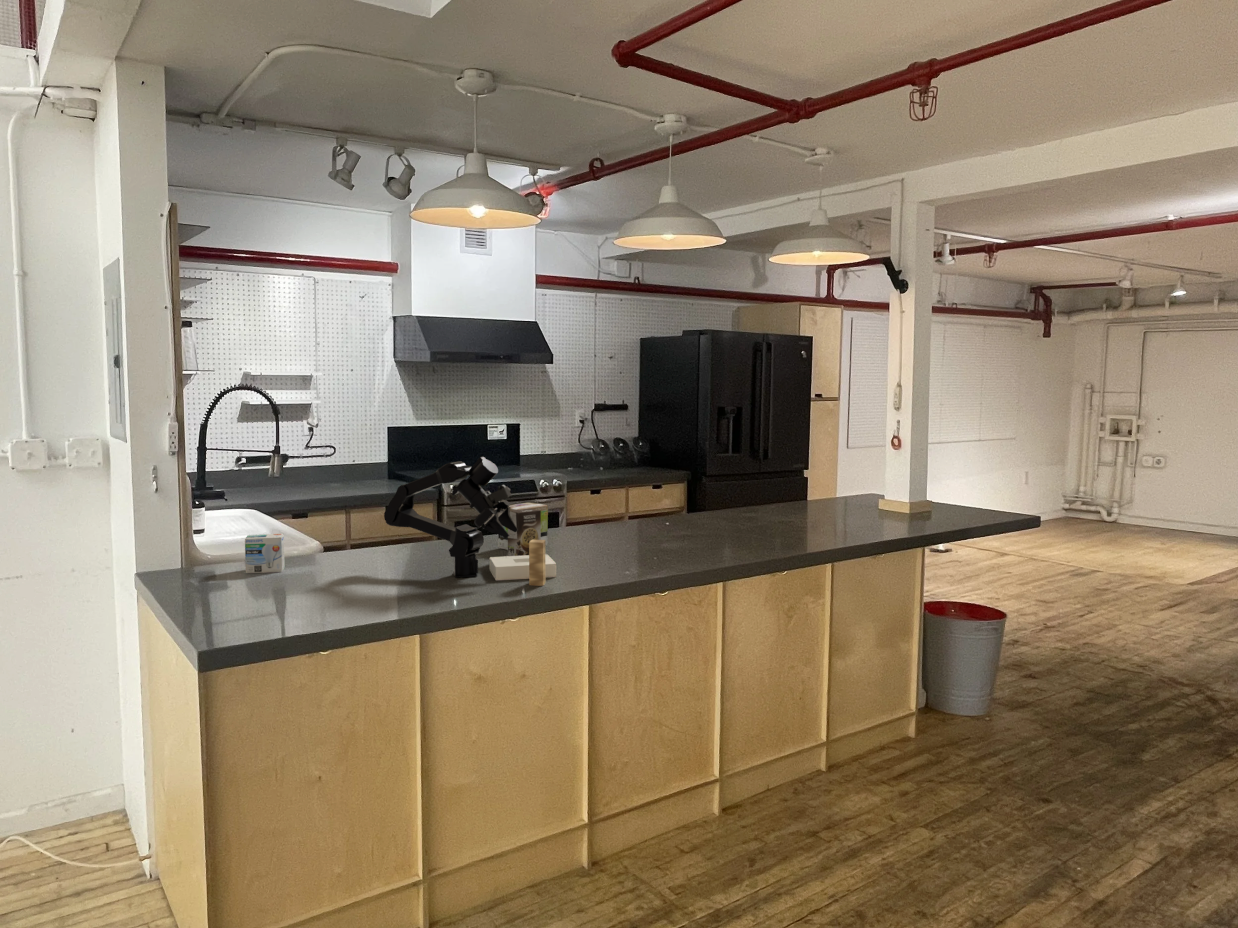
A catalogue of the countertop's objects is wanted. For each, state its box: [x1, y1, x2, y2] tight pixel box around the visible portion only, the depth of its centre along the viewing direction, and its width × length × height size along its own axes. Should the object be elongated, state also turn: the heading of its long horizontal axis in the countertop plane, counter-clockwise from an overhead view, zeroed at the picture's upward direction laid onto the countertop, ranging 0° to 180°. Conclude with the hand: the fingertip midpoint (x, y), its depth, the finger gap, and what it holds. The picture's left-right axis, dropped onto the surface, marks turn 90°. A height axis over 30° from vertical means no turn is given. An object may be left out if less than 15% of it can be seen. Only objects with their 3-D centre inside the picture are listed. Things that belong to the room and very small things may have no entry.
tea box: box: [497, 502, 549, 551], centre depth 308 cm, size 15×10×15 cm, turn 143°
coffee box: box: [507, 509, 541, 556], centre depth 288 cm, size 9×6×16 cm
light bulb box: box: [244, 533, 286, 574], centre depth 269 cm, size 11×7×11 cm, turn 106°
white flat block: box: [489, 553, 557, 581], centre depth 268 cm, size 18×14×4 cm
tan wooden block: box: [528, 540, 546, 587], centre depth 255 cm, size 4×4×12 cm
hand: (512, 533), depth 261 cm, fingers open, 9 cm apart
